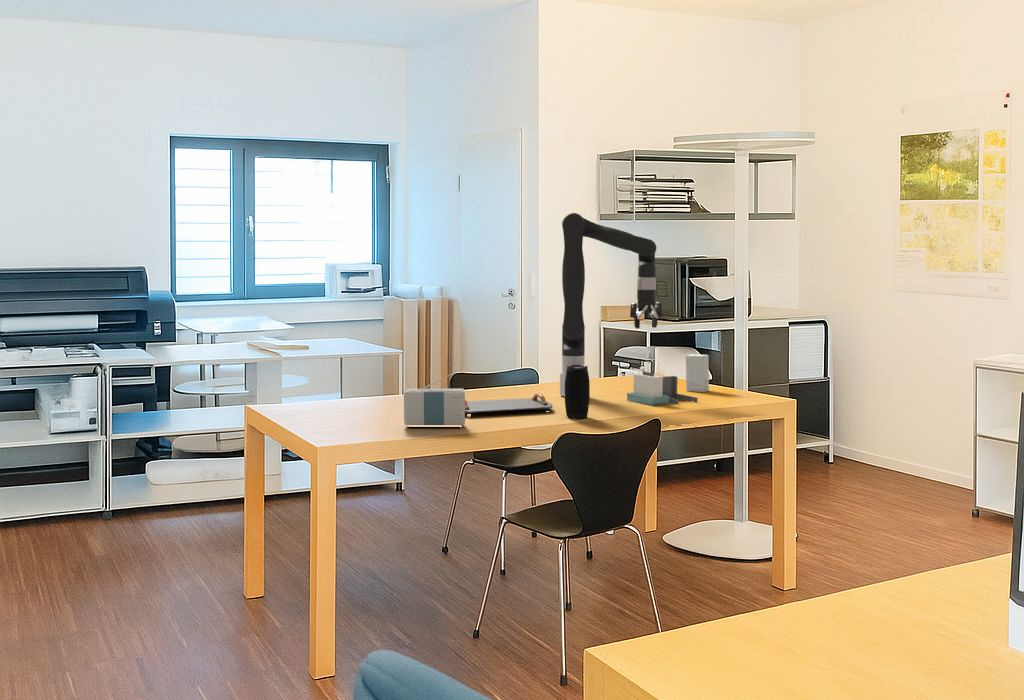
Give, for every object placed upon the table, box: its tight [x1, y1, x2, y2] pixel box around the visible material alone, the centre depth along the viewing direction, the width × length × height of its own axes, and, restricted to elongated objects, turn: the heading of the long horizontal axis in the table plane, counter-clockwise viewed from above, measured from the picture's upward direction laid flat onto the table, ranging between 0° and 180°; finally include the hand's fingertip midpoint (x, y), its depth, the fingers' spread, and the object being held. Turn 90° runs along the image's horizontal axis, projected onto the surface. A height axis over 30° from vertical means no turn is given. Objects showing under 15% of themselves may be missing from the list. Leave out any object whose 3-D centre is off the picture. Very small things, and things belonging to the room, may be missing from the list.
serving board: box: [465, 393, 554, 414], centre depth 393 cm, size 39×23×6 cm, turn 109°
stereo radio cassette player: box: [403, 369, 466, 426], centre depth 358 cm, size 21×8×20 cm, turn 90°
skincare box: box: [685, 353, 710, 393], centre depth 442 cm, size 8×7×16 cm
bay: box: [662, 375, 698, 405], centre depth 415 cm, size 11×15×9 cm
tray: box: [626, 391, 670, 407], centre depth 412 cm, size 9×16×3 cm, turn 31°
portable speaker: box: [564, 365, 591, 419], centre depth 377 cm, size 8×9×19 cm
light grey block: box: [633, 371, 664, 398], centre depth 412 cm, size 5×12×11 cm, turn 31°
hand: (645, 327), depth 423 cm, fingers open, 8 cm apart
